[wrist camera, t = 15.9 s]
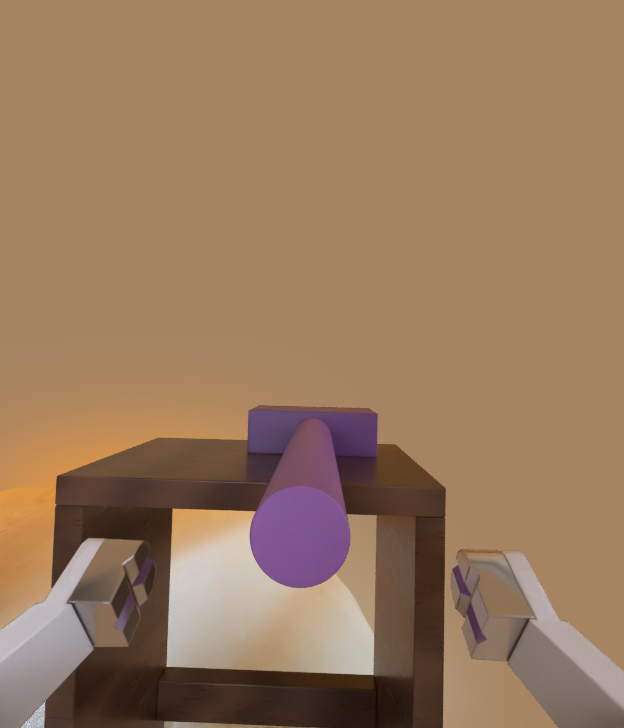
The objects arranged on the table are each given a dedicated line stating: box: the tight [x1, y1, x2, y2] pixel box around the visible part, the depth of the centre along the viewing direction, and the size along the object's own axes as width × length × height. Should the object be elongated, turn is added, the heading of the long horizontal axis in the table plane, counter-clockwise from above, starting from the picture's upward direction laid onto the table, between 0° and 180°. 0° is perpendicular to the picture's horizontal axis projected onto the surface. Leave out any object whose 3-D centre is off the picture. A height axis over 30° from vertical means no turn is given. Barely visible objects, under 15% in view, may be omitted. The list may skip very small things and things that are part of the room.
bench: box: [44, 438, 446, 728], centre depth 24 cm, size 20×12×25 cm, turn 89°
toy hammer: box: [247, 405, 378, 588], centre depth 20 cm, size 20×9×3 cm, turn 179°
